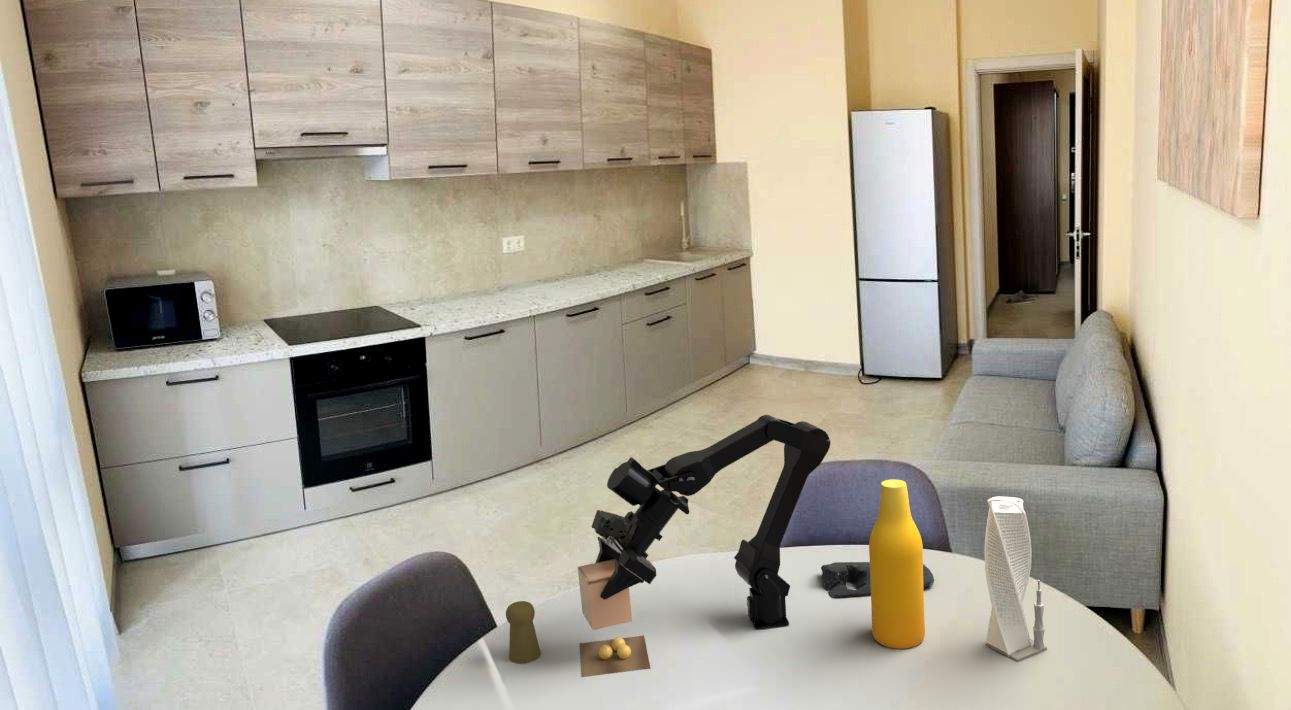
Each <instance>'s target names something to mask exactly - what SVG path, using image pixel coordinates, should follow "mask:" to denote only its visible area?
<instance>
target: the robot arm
mask: <svg viewBox="0 0 1291 710" xmlns="http://www.w3.org/2000/svg"><path fill="white" fill-rule="evenodd" d="M773 441H776V442H778V443H782V444H784V446H783V462H784V463H783V467H782V469H781V472H780V475H779V477H778V480H777V483H776V484H775V488H774V490H773V492H772V494H771V497H770V500H769V502H768V504H767V506H766V510H765V512H764V515H763V517H762V520H761V522H760V524H759V527H758V530H757V532H756V534H755V535H754V536H753V537H752V538H751V539H750V540H749V541H747V539H742V540H741V541H740V545H739V548H738V551H737V552H736V554H735V555H734V557H733V558H734V560H735V563H734V569H735V571H736V573H737V575H738V576H739V577H740V578H741V579H742V580H743V581H744V582H745V583H746V584H747V585H748V586H749V588H748V591H749V595H747V596H746V606H747V618H748V619H749V621H750V622H751V623H752V625H753V627H754V629H756V630H758V629H760V630H761V629H768V628H777V627H783V626H789V625H790V621H789V620H788V618H787V605H786V604H787V603H786V597H787V596H789V592H790V589H791V584H789V583H788V582H787V581H786V580H784V578H782V577H781V576H780V575H779V571H780V567H781V544H782V542H783V540H784V537H785V534H786V532H787V529H788V527H789V525H790V521H791V519H792V518H793V514H794V512H795V509H796V507H797V504H798V502H799V499H800V498H801V497H800V496H801V494H802V492H803V490H804V486H805V484H806V483H807V480H808V477H809V475H811V474H812V473H813V472H814V471H815V470H816V469H817V468H818V467H819V466H821V464H822V462H823V461H824V459H825V457H826V455H827V454H828V452H829V451H830V449H831V439H830V436H829V434H828V433H827V432H826V430H823V429H822V428H820V427H817V425H814V424H812V423H810V422H807V421H803V420H802V421H801V420H800V421H797V422H796V423H793V422H790V421H789V420H785V419H780V418H776V417H774V416H773V415H770V414H764V415H760V416H759V417H758V418H757V419H756V420H755V421H753V422H751V423H749V424H748V425H746V426H744V427H742V428H740V429H738V430H736V431H735V432H733V433H731V434H730V435H728V436H726V437H723V438H722V439H721V440H718V441H716V442H715V443H713V444H712V445H710V446H708V447H706V448H703V449H701V450H700V449H699V450H693V451H688V452H685V453H682V454H679V455H677V456H674V457H671V458H670V459H668V460H667V461H666V463H665V464H661V465H659V466H655V467H653V468H650V469H646V468H645V467H643V466H642V465H641V463H640V462H638V461H637V460H636V459H635V458H634V457H629V459H627V461H625V462H623V463H621V464H620V465H618V466H617V467H615V468H614V469H613V470H612V472H611V473H610V476H609V477H608V480H607V483H606V487H607V489H609V490H610V491H612V492H613V493H614V494H615V495H617V496H618V497H619V498H621V499H622V500H624V501H625V502H626V503H627V504H629V505H631V506H632V507H635V506H639V507H638V508H637V509H636V511H635V512H634V511H632V510H630V511H628V512H627V513H626V514H625V515H624V516H622V515H619V514H617V513H613V512H609V511H605V510H600V509H597V510H596V512H595V515H594V518H593V521H592V524H591V528H592V529H594V532H595V534H597V535H599V536H597V541H598V547H599V551H598V555H597V557H596V560H595V562H594V563H598V562H603V561H608V560H612V559H614V561H615V571H614V573H613V574H612V576H611V578H610V579H609V581H608V582H607V584H606V586H605V587H604V589H603V591H602V593H601V595H600V597H601V598H602V599H604V600H605V599H607V598H609V597H611V596H613V595H615V594H617V593H619V592H621V591H623V590H625V589H627V588H629V589H630V588H631V587H633V586H636V585H637V584H643V583H644V582H646V583H647V584H648V585H651V583H652V582H653V581H654V579H655V578H656V577H657V569H656V567H655V566H654V565H653V563H652V562H651V561H650V560H648V559H647V558H648V557H649V554H648V553H647V551H648V550H649V548H650V546H652V544H653V543H654V541H655V540H656V541H658V542H660V541H661V540H662V538H663V535H662V534H661V532H662V531H663V530H664V529H665V527H666V525H667V524H668V523H669V522H670V520H671V519H672V518H673V516H674V515H675V514H676V512H677V511H678V510H680V511H681V512H683V513H684V514H685V515H689V514H690V509H689V498H687V497H691V496H694V495H695V494H697V493H699V491H701V490H702V489H704V487H706V486H707V485H708V484H709V483H711V481H712V480H713V478H714V477H715V476H716V474H717V473H719V472H720V471H721V470H723V469H725V468H726V467H728V466H730V465H733V464H734V463H735V462H737V461H739V460H740V459H742V458H744V457H746V456H748V455H750V454H751V453H754V452H755V451H757V450H759V449H761V448H762V447H764V446H765V445H768V444H769V443H771V442H773ZM657 485H658V486H659V487H660V488H662V490H661V489H659V488H657V487H656V486H657ZM674 492H676V493H678V494H679V495H681V496H678V495H677V494H675V493H674Z"/></svg>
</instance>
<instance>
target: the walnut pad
mask: <svg viewBox="0 0 1291 710" xmlns="http://www.w3.org/2000/svg"><path fill="white" fill-rule="evenodd" d="M621 638H622V639H624V641H625V644H626V645H627V646H629V647H630V649H631V655H630V657H629V658H627V659H621V658H619V656H618V654H617V651H615V650H614V649H613V648H612V641H613V640H614V639H615V638H611V639H603V640H595V641H594V640H593V641H588V642H581V643H580V642H579V655H580V656H579V657H580V672H581V678H583V677H584V678H585V677H586V678H587V677H593V676H602V675H603V676H604V675H610V674H617V673H627V672H633V671H643V670H649V669H651V665H650V664H651V663H650V660H649V659H650V658H649V654H648V649H647V648H648V647H647V643H646V640H645V635H637V636H636V635H635V636H628V637H621ZM603 645H608V646H610V647H611V648H612V651H613V653H612V656H611V657H610V658H609V659H607V660H604V659H602V658H601V657H600V656H599V649H600V647H601V646H603Z"/></svg>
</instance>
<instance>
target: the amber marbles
mask: <svg viewBox="0 0 1291 710" xmlns="http://www.w3.org/2000/svg"><path fill="white" fill-rule="evenodd" d="M622 638H623V637H615V638H613V639H614V640H613V641H612V648H613V649H614V650H615V651H617V654H618V656H619V658H621V659H627V658H629V657H630V655H631V649H630V647H629V646H627V645H626V644H625V641H624V639H622ZM612 648H611V647H610V646H608V645H603V646H601V647H600V649H599V656H600V657H601V658H602V659H604V660H607V659H609V658H610V657H611V656H612V653H613V651H612Z"/></svg>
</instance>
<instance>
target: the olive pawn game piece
mask: <svg viewBox="0 0 1291 710" xmlns="http://www.w3.org/2000/svg"><path fill="white" fill-rule="evenodd" d="M535 615H536V611H535V607H534V605H533V604H532V603H531V602H530V601H525V600H519V601H516V602H515V601H514V602H512V603H510V604H509V605H508V606H507V607H506V610H505V618H506V621H507V623H508V624H509V647H508V658H509V661H511V663H515V664H521V665H522V664H529V663H532V662H535V661H536V660H538V659H539V658H540V657H541V655H542V652H541V648H540V644H539V641H538V636H537V633H536V629H535V624H534V619H535Z"/></svg>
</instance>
